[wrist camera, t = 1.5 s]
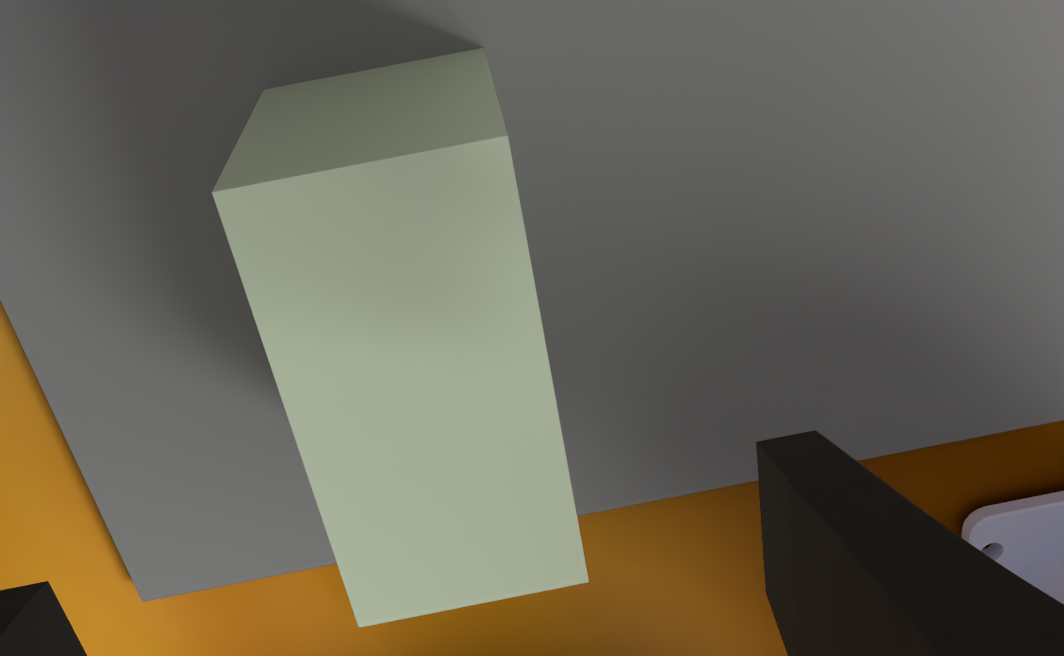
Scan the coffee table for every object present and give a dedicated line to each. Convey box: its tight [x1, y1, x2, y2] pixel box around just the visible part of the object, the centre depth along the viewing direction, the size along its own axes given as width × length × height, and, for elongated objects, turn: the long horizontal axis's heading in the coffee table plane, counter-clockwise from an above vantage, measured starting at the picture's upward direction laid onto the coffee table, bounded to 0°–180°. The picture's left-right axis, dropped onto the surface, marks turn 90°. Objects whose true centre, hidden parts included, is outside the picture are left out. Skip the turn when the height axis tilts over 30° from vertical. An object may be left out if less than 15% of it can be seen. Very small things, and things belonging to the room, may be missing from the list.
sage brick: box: [212, 48, 589, 628], centre depth 15 cm, size 7×4×5 cm, turn 9°
